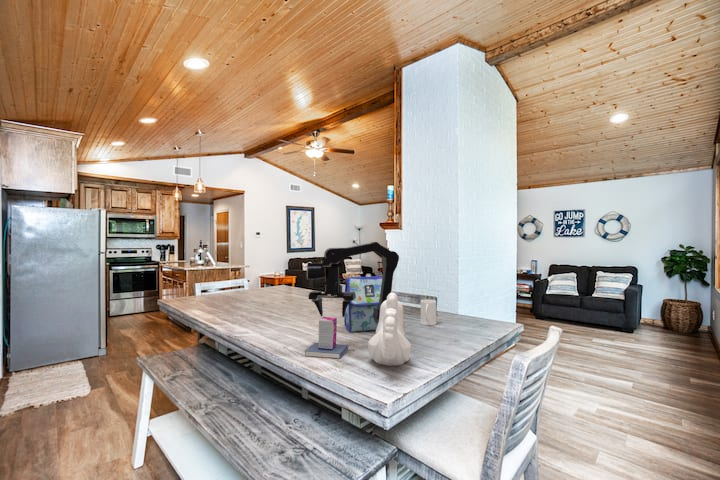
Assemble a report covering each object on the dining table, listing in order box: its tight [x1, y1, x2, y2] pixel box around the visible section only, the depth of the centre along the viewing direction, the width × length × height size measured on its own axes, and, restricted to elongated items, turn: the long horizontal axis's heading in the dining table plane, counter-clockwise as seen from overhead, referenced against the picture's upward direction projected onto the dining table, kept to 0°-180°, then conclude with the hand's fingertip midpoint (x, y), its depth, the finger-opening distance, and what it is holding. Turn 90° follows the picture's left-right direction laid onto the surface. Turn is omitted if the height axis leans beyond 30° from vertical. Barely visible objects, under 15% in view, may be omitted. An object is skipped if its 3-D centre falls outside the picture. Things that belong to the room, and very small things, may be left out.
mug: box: [419, 299, 437, 326], centre depth 182 cm, size 12×8×12 cm
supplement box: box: [317, 316, 338, 350], centre depth 135 cm, size 6×6×12 cm
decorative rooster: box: [367, 292, 412, 367], centre depth 122 cm, size 25×16×25 cm, turn 161°
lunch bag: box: [343, 276, 382, 333], centre depth 173 cm, size 22×17×26 cm
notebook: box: [304, 342, 349, 360], centre depth 136 cm, size 14×11×2 cm
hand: (332, 316), depth 142 cm, fingers open, 9 cm apart
